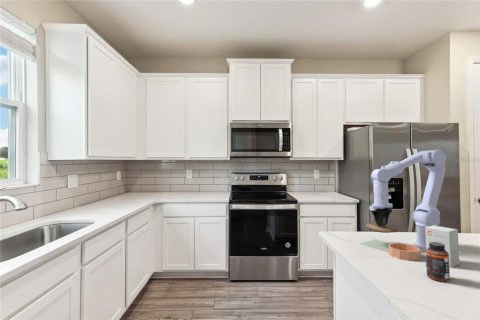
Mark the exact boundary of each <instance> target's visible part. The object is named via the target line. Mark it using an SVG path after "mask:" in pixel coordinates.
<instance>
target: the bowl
mask: <svg viewBox="0 0 480 320" xmlns="http://www.w3.org/2000/svg"><path fill="white" fill-rule="evenodd" d="M390 243H391V242H390ZM387 253H388V255H389V257H392V258H395V259H398V260H402V261H408V262H409V261H410V262H416V261H417V262H418V261H420V260H422V259H421V258H422V254H421V253H422V250H421V249H420V247H417V245H414V244H413V245H412V244H408V243H401V242H392V243H391V244H388V252H387Z"/></svg>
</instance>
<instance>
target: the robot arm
mask: <svg viewBox="0 0 480 320" xmlns="http://www.w3.org/2000/svg"><path fill="white" fill-rule="evenodd" d="M446 161H447V155H446V154H445V153H444V151H443V150H441V149H433V150H431V149H429V150H420V151H417V152H415V153H414V154H412V155H410V156H408V157H407V158H405V159H403V160H401V161H397V160H396V161H395V160H394V161H390V162H389V163H388V164H386V165H382V166H380V168H376V169H374V170H373V171H372V172H371V174H370V178H371V180H372V184H373V203H372V204H371V205H369V211H370V212H371V214H372V215H373V217H374V220H375V223H376V224H377V225H379V226H382V222H383V217H384V218H386V225H387V224H388V220H389V218H390V215H391V213H392V212H393V203H390V202H389V181H390V180H391V178H393V177H395V176H397V175H400V174H401V173H403V172H404V169H405V168H408V167H411V166H413V165H415V164H418V163H419V164H421V165H422V166H423V167H424V168H426V169H427V170H428V171H429V173H428V178H427V181H426V185H425V188H424V191H423V192H424V193H423V197H422V200H421V203H420V204H419V205H417V206H416V207H415V210H414V211H413V213H412V216H411V218H412V220H413V222H414V223H415V225H416V228H415V229H416V230H415V231H416V242H412V244H413V246H419V247H423V248H426V231H425V227H428V226H433V225H435V226H440V224H441V218H440V216H441V212H440V209H438V208H437V204H438V201H439V197H440V193H441V190H442V186H443V181H444V179H445V174H446V170H447V169H446Z"/></svg>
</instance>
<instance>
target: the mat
mask: <svg viewBox="0 0 480 320" xmlns="http://www.w3.org/2000/svg"><path fill="white" fill-rule="evenodd" d="M388 244H391V242H388V241H383V240H380V239H372V240H368V241H364V242H361V243H360V242H359V245H361V246H366V247H369V248H372V249H375V250H379V251H383V252H386V253H389V252H388Z"/></svg>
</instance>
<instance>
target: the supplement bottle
mask: <svg viewBox="0 0 480 320" xmlns="http://www.w3.org/2000/svg"><path fill="white" fill-rule="evenodd" d="M425 264H426V266H425V267H426V276H427V277H428V278H430V279H432V280H434V281H438V282H449V281H450V277H451V275H450V267H449V254H448V252H447V251H445V245H444V244H442V243H438V242H430V243H429V248H428V249H426V248H425Z"/></svg>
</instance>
